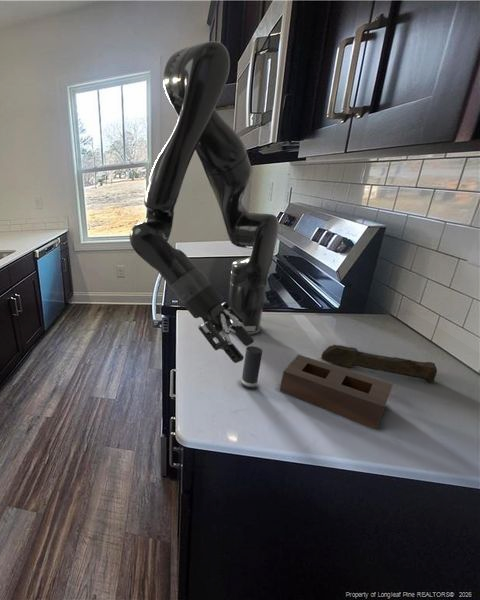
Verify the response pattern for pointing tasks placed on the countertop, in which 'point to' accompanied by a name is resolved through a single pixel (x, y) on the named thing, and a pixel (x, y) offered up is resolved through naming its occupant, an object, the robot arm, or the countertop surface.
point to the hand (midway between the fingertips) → (245, 351)
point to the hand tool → (379, 362)
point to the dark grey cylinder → (251, 367)
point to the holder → (337, 389)
